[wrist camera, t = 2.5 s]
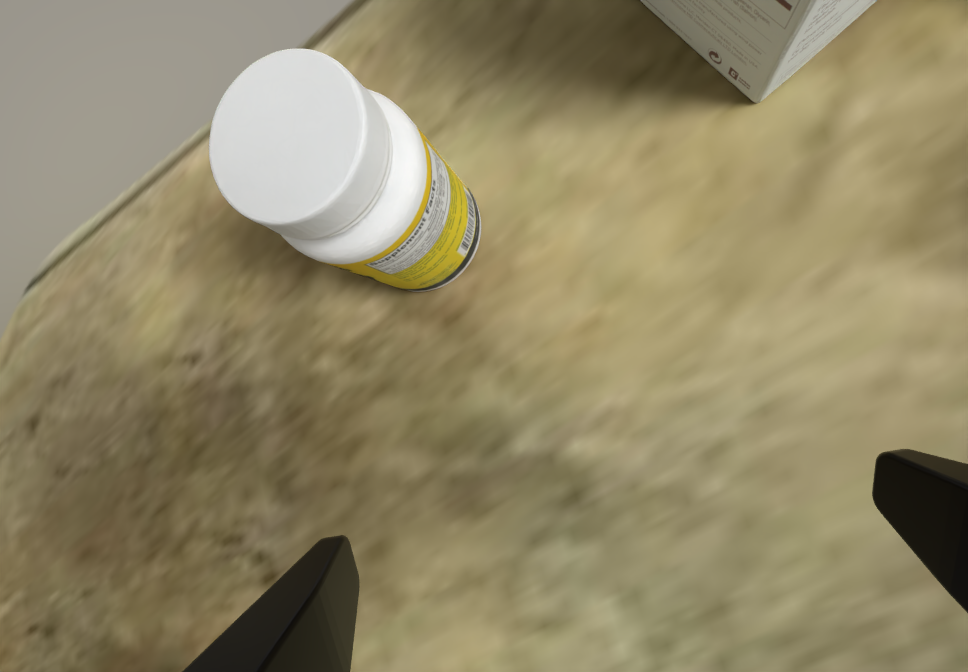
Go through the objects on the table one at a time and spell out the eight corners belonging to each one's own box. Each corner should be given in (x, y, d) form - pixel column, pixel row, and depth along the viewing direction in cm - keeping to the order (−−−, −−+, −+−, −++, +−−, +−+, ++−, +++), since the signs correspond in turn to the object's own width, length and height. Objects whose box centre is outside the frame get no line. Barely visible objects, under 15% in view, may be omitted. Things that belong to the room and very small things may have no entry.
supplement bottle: (347, 226, 23) (159, 129, 13) (435, 147, 22) (301, -19, 12) (413, 319, 21) (260, 285, 12) (509, 239, 21) (424, 135, 11)
